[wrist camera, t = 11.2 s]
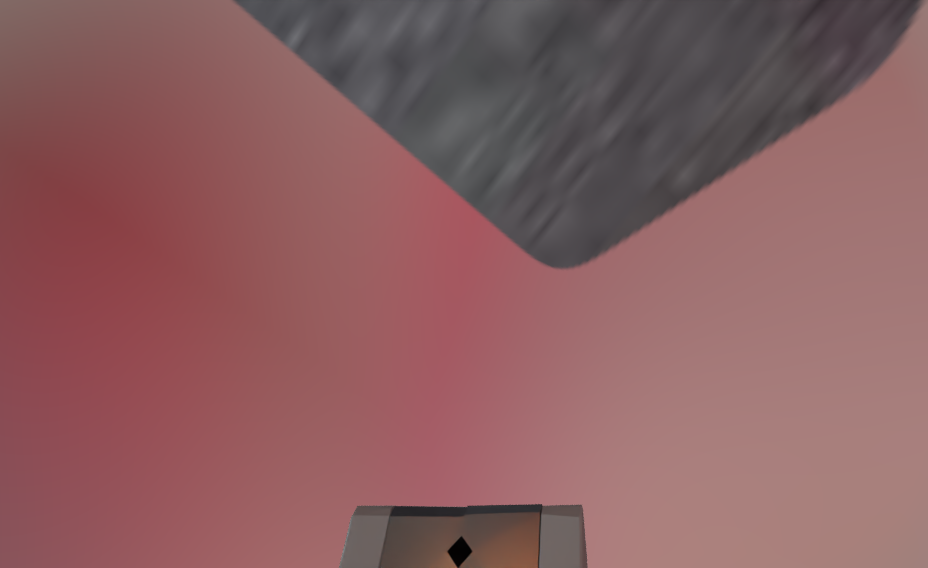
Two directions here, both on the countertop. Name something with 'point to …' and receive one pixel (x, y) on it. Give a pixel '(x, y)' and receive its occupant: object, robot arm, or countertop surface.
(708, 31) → the countertop surface
